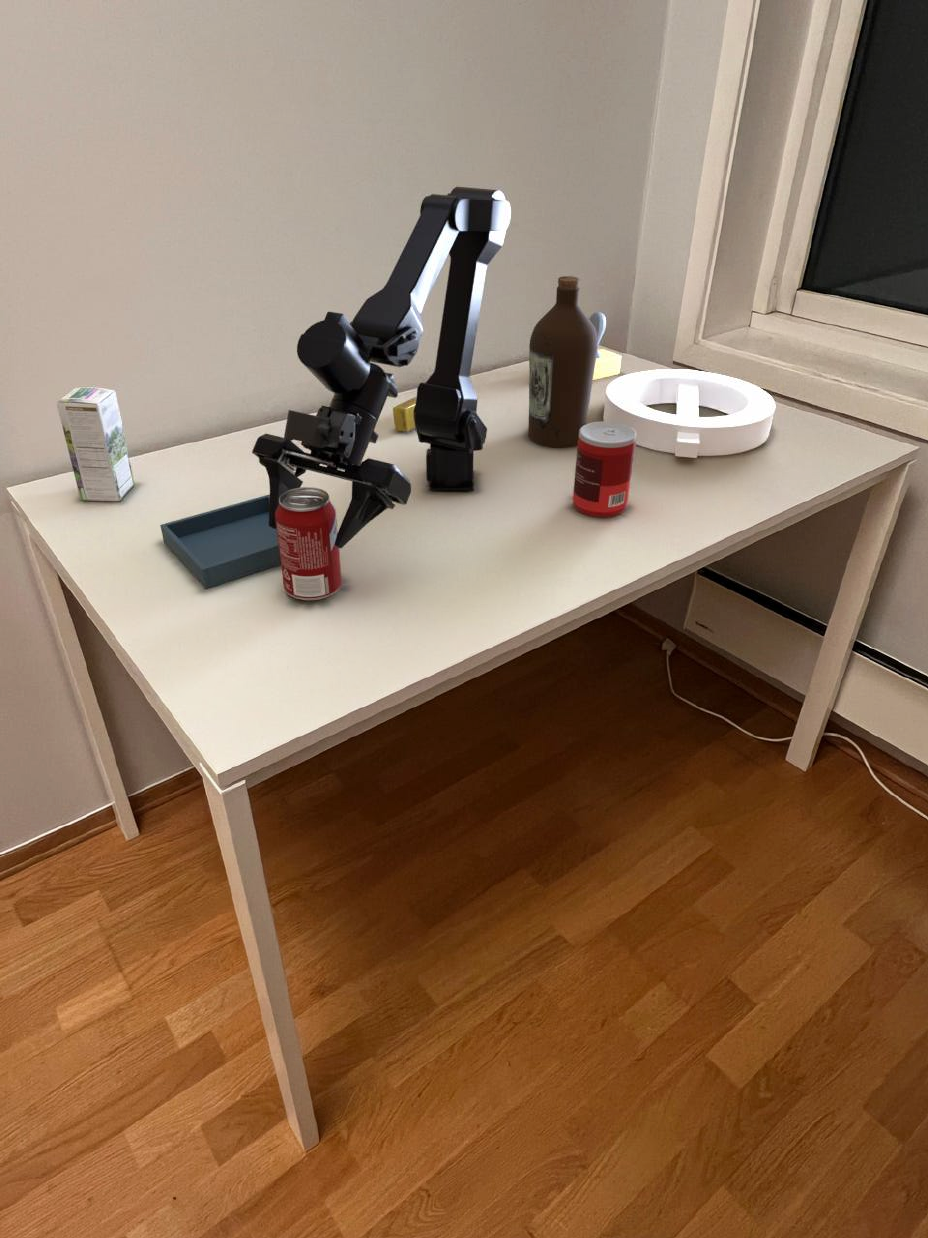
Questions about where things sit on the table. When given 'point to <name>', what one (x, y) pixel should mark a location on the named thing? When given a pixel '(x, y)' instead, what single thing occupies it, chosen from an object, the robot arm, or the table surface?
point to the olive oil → (561, 370)
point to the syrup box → (96, 443)
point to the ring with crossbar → (690, 412)
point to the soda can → (308, 543)
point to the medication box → (404, 415)
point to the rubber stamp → (604, 351)
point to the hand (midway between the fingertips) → (304, 537)
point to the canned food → (603, 468)
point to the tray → (225, 542)
